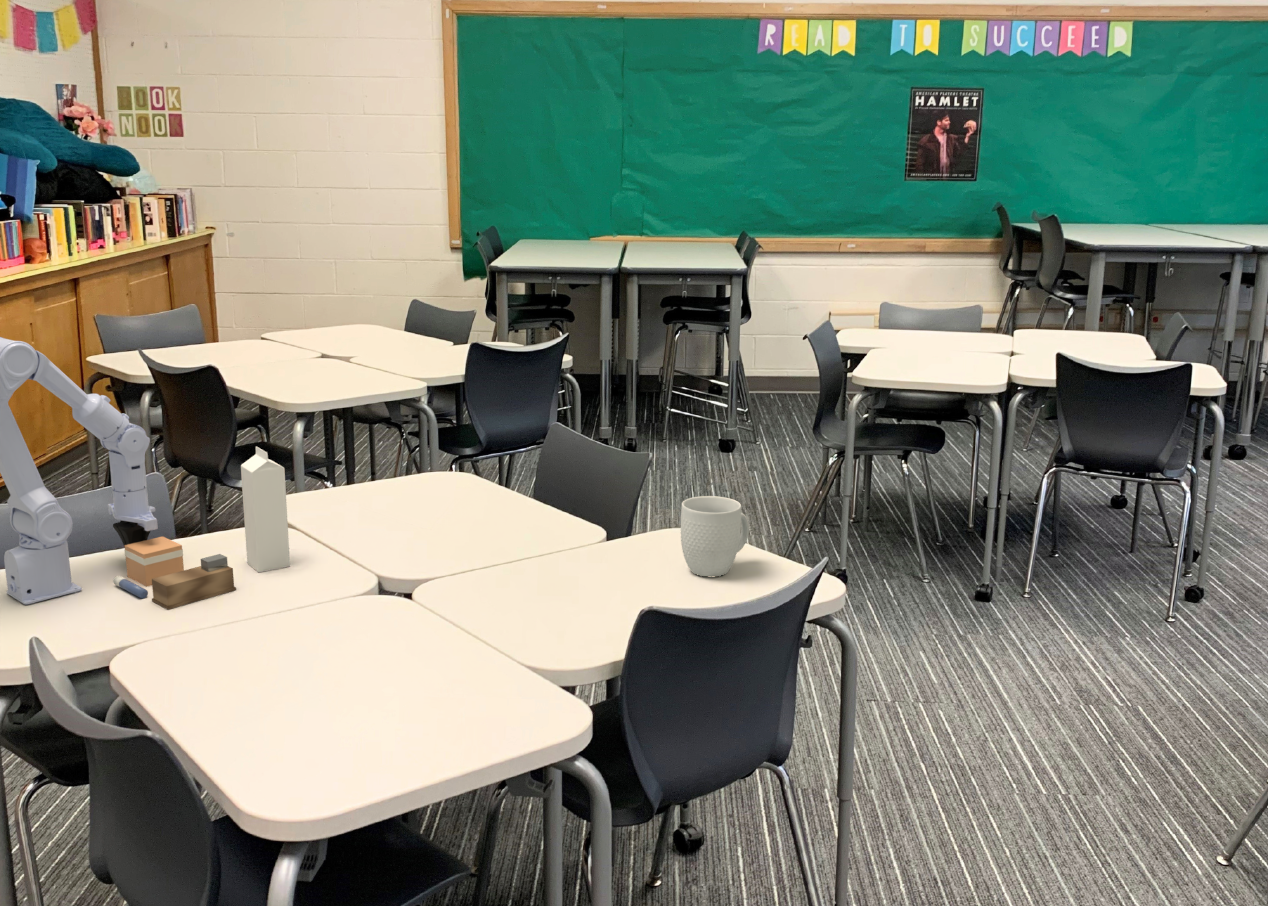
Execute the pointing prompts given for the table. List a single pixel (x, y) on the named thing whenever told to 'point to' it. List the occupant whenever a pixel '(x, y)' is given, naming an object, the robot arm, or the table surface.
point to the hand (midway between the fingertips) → (136, 559)
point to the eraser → (214, 562)
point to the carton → (153, 559)
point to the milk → (265, 513)
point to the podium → (191, 586)
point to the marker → (130, 587)
